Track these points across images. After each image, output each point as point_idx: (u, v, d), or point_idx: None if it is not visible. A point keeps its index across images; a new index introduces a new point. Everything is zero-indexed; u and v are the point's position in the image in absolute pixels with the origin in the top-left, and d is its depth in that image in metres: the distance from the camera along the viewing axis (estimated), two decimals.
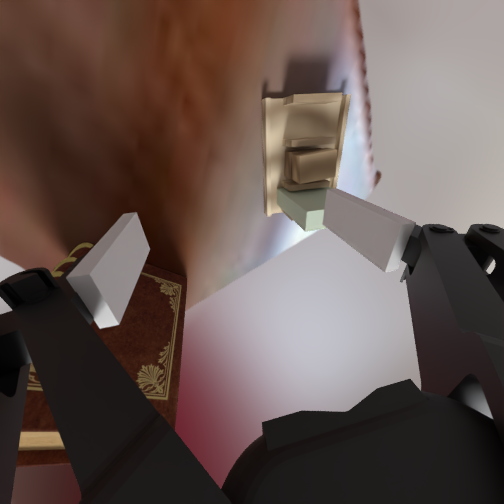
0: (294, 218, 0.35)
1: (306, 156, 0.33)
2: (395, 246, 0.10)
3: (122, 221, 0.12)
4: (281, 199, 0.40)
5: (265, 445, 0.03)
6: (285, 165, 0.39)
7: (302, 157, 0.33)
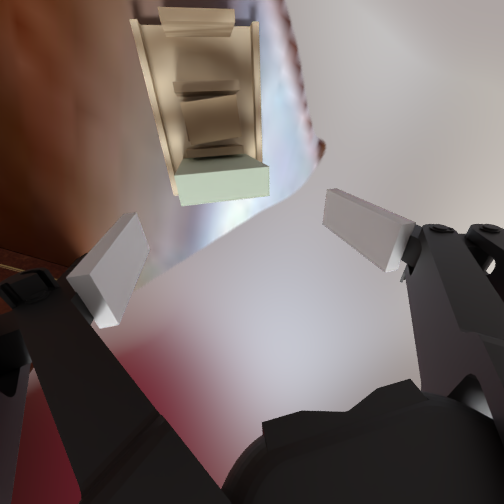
0: None
1: (190, 103, 0.24)
2: (395, 246, 0.10)
3: (122, 221, 0.12)
4: None
5: (265, 445, 0.03)
6: None
7: (184, 104, 0.24)
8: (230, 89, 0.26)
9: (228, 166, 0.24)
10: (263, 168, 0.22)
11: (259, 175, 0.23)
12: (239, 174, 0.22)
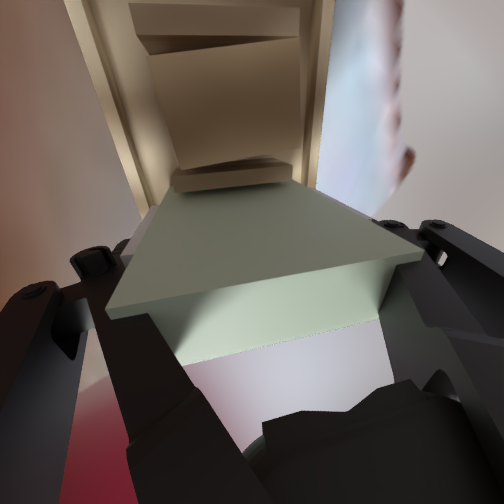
0: None
1: (176, 58, 0.09)
2: None
3: (152, 212, 0.13)
4: None
5: (265, 445, 0.03)
6: None
7: (159, 61, 0.08)
8: (277, 33, 0.11)
9: (282, 235, 0.09)
10: (407, 256, 0.07)
11: (388, 276, 0.07)
12: (333, 279, 0.07)
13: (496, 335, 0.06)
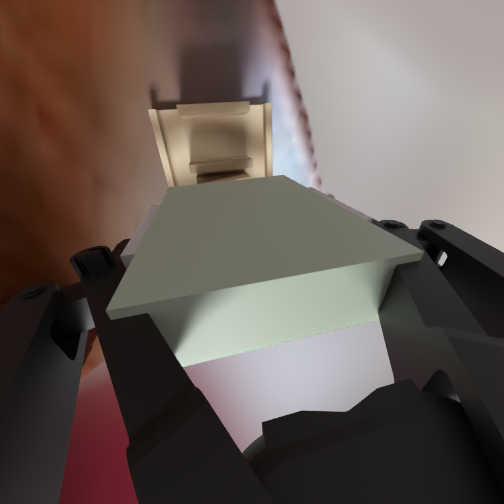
0: None
1: None
2: None
3: (152, 212, 0.13)
4: None
5: (265, 445, 0.03)
6: None
7: None
8: (244, 167, 0.27)
9: (282, 236, 0.09)
10: (406, 258, 0.07)
11: (387, 277, 0.07)
12: (332, 280, 0.07)
13: (496, 335, 0.06)
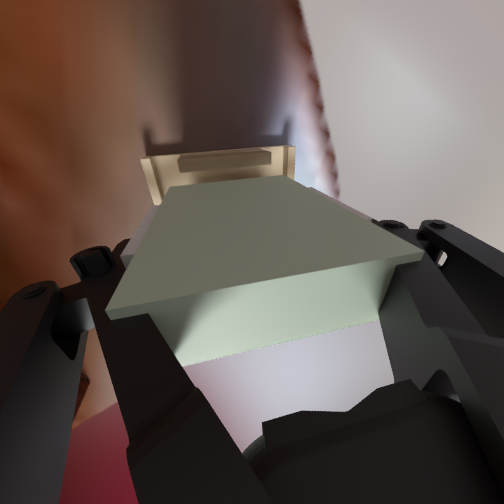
0: None
1: None
2: None
3: (152, 212, 0.13)
4: None
5: (265, 445, 0.03)
6: None
7: None
8: None
9: (282, 235, 0.09)
10: (407, 257, 0.07)
11: (387, 276, 0.07)
12: (333, 280, 0.07)
13: (496, 335, 0.06)
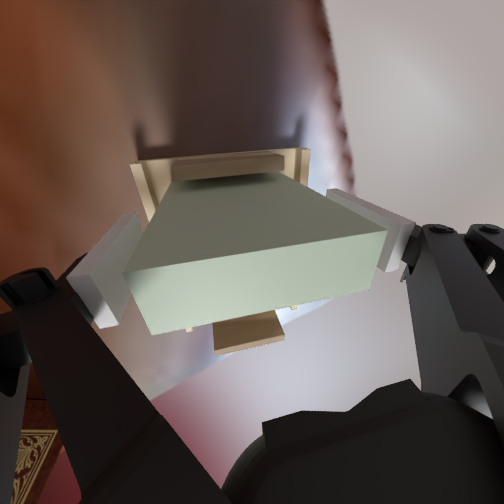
0: None
1: None
2: (395, 246, 0.10)
3: (122, 221, 0.12)
4: None
5: (265, 445, 0.03)
6: None
7: None
8: None
9: (270, 220, 0.10)
10: (373, 235, 0.08)
11: (358, 252, 0.09)
12: (310, 253, 0.08)
13: None
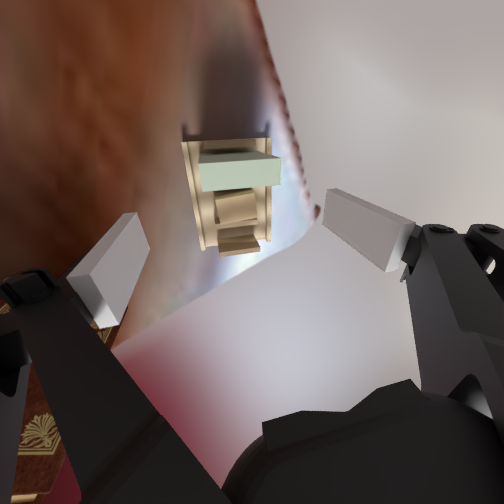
0: None
1: (222, 199, 0.33)
2: (395, 246, 0.10)
3: (122, 221, 0.12)
4: None
5: (265, 445, 0.03)
6: None
7: (218, 200, 0.33)
8: None
9: (244, 158, 0.27)
10: (276, 159, 0.25)
11: (272, 166, 0.26)
12: (254, 164, 0.25)
13: None
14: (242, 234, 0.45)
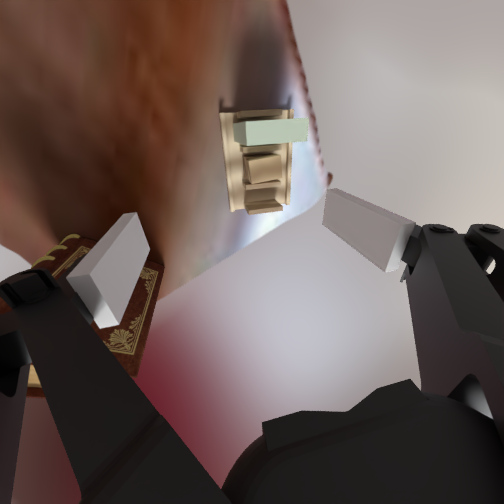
0: (242, 141, 0.35)
1: (254, 161, 0.40)
2: (395, 246, 0.10)
3: (122, 221, 0.12)
4: (235, 131, 0.40)
5: (265, 445, 0.03)
6: (243, 168, 0.46)
7: (251, 161, 0.40)
8: (276, 149, 0.42)
9: None
10: (304, 118, 0.32)
11: (301, 124, 0.32)
12: (288, 122, 0.32)
13: None
14: (265, 198, 0.52)
